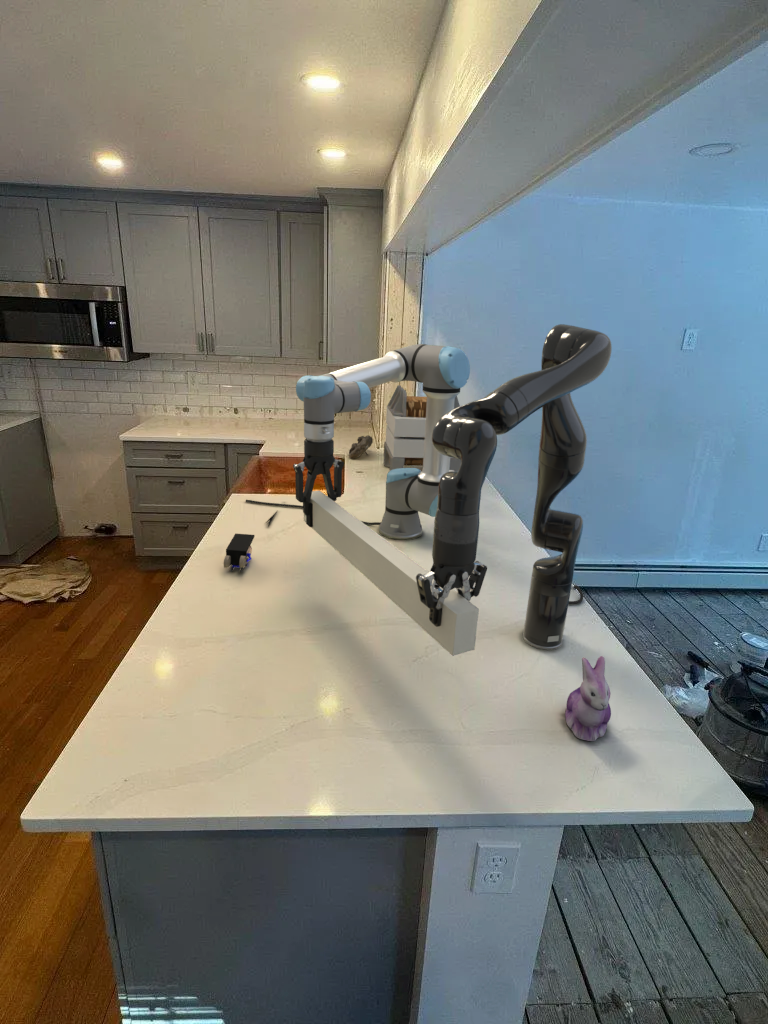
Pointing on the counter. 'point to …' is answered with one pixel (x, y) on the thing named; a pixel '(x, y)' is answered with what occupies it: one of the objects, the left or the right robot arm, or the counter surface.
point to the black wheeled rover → (238, 551)
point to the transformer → (407, 431)
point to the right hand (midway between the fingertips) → (448, 620)
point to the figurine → (590, 703)
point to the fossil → (360, 446)
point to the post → (394, 574)
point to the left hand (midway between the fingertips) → (318, 523)
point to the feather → (271, 519)
